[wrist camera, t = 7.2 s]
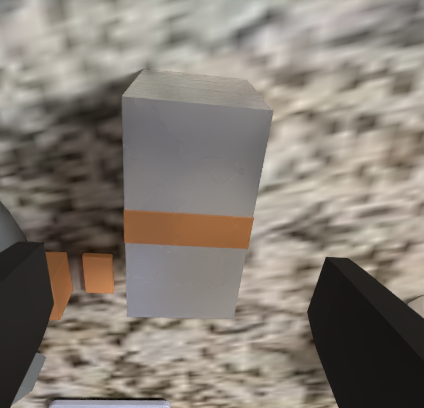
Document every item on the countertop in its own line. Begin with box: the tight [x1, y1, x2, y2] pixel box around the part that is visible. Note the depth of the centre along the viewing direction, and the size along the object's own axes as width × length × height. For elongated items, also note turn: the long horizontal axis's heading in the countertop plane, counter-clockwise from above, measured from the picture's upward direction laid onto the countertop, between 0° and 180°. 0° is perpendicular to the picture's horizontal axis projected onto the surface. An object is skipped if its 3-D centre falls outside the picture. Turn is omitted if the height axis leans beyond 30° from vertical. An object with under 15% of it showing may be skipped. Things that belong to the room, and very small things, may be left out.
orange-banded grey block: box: [122, 69, 273, 319], centre depth 13 cm, size 8×4×5 cm, turn 174°
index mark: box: [82, 253, 114, 293], centre depth 17 cm, size 2×1×1 cm, turn 174°
